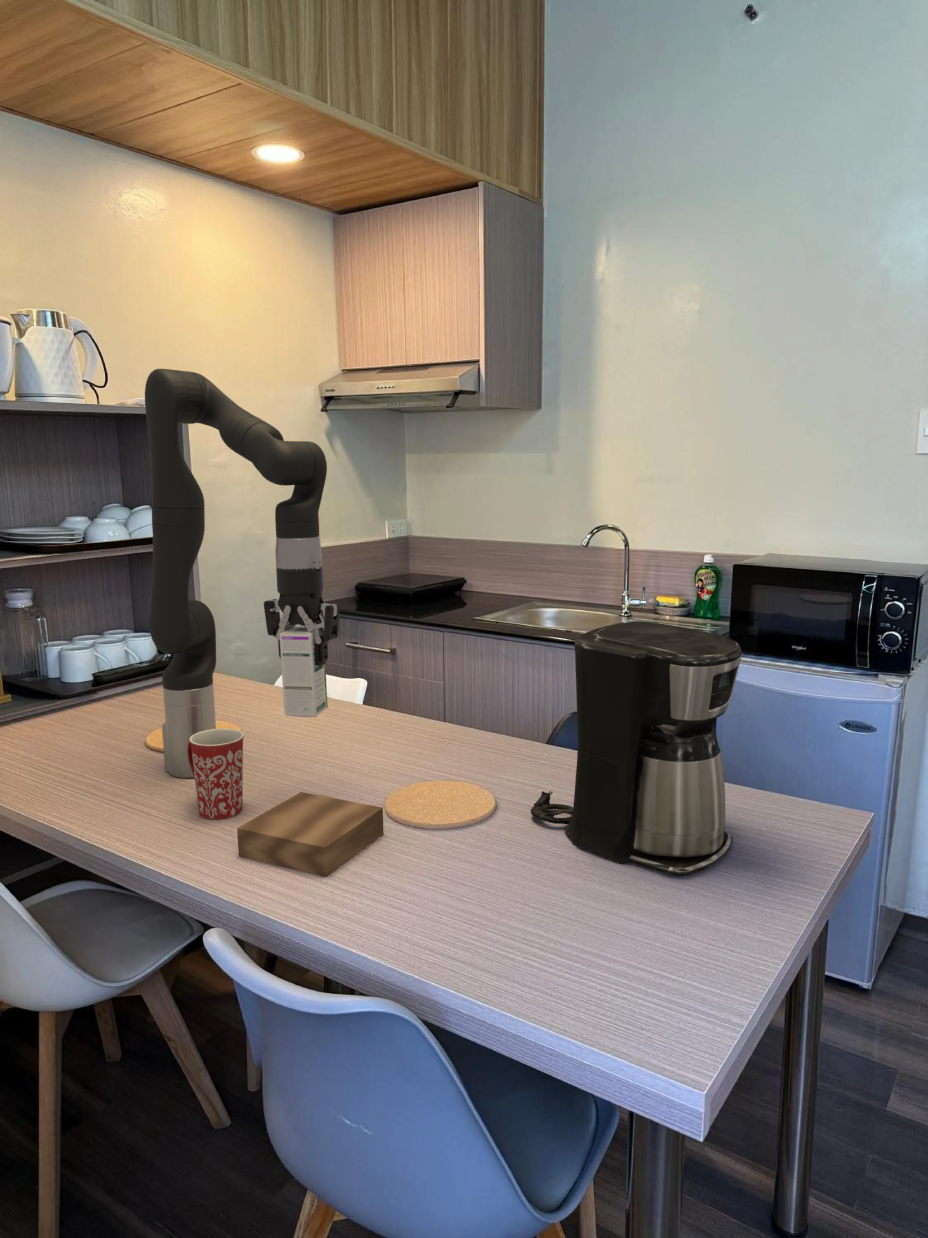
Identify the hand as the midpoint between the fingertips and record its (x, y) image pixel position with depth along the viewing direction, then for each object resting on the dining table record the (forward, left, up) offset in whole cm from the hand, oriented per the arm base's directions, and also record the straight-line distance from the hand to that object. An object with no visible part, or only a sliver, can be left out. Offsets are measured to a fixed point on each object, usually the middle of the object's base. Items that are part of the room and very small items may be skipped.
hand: (303, 662), depth 146 cm
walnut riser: (+9, -12, -26) cm, 30 cm away
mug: (-15, -7, -26) cm, 31 cm away
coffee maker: (+54, +14, -26) cm, 62 cm away
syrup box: (0, 0, -9) cm, 9 cm away
